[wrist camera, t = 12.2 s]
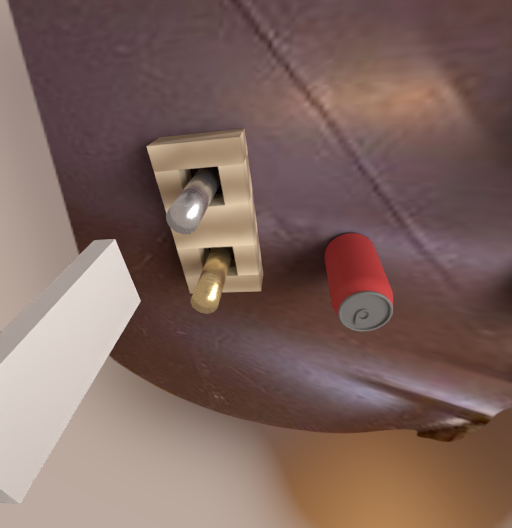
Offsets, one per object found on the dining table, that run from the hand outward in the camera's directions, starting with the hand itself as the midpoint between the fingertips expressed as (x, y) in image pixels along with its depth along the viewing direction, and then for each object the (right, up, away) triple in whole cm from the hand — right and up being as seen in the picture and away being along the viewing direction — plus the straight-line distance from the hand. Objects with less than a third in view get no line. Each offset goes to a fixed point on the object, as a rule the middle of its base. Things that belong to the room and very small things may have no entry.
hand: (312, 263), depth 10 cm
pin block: (-7, +7, +31) cm, 33 cm away
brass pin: (-6, +2, +34) cm, 35 cm away
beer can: (+11, +2, +33) cm, 35 cm away
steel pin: (-7, +11, +28) cm, 31 cm away
